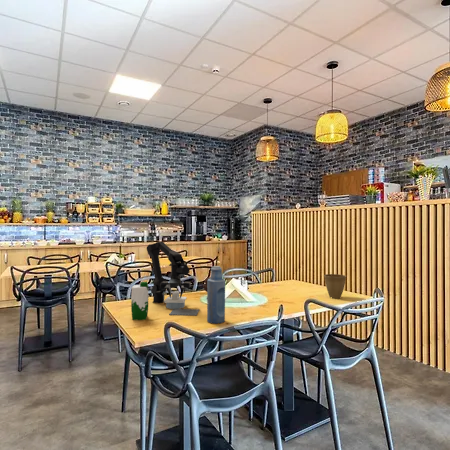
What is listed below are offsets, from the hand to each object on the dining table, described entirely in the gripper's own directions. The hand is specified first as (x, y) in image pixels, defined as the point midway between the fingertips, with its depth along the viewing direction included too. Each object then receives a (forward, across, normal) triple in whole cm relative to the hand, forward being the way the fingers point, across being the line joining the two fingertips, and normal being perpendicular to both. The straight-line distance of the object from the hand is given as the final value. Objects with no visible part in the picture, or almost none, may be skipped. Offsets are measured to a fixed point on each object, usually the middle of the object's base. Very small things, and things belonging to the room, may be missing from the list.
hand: (175, 298), depth 212 cm
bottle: (+6, +28, -29) cm, 41 cm away
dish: (+6, 0, 0) cm, 6 cm away
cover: (+2, 0, 0) cm, 2 cm away
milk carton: (+6, -15, -26) cm, 31 cm away
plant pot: (+6, +109, +34) cm, 114 cm away
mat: (+6, +8, -13) cm, 16 cm away
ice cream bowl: (+6, +20, +24) cm, 32 cm away
